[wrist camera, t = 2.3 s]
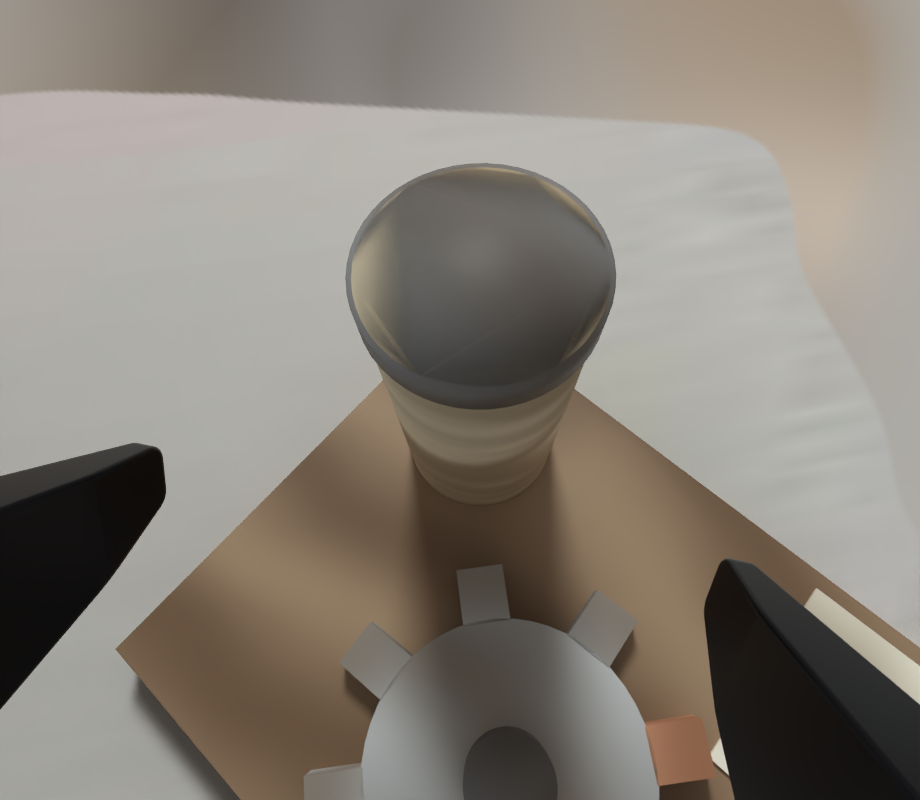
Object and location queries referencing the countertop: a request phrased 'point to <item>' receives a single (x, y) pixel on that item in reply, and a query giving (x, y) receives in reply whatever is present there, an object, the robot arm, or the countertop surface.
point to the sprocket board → (472, 628)
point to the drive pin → (480, 318)
